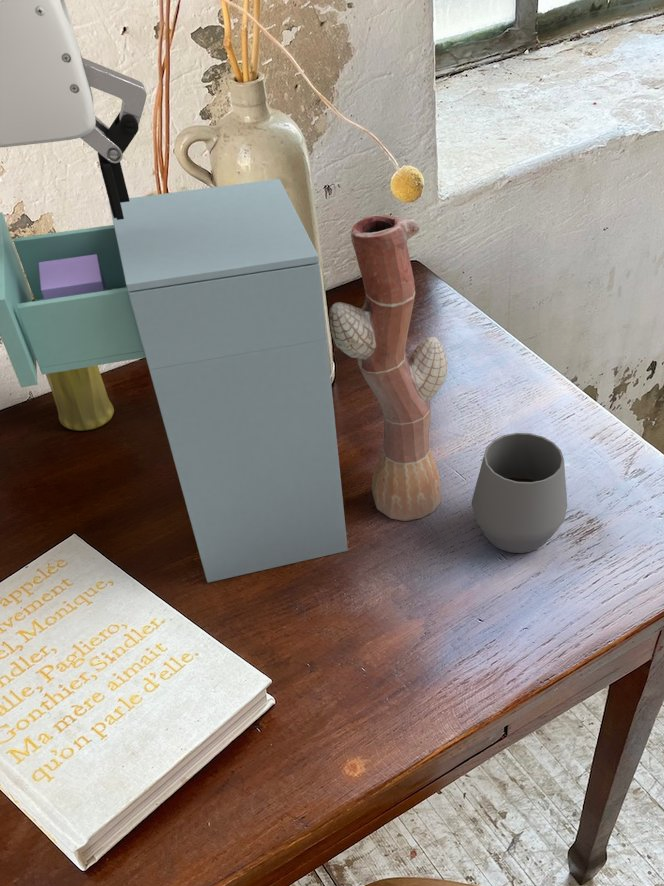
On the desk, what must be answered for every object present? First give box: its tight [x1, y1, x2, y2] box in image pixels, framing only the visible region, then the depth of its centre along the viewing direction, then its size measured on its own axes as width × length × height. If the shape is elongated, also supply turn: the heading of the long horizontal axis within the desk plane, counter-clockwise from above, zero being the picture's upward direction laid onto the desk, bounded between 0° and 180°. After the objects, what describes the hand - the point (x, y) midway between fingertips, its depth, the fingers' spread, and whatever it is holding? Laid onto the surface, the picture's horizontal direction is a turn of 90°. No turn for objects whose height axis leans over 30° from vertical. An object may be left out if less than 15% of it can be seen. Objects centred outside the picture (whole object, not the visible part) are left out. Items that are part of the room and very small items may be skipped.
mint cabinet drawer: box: [0, 212, 146, 388], centre depth 70 cm, size 19×14×7 cm
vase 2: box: [328, 214, 448, 522], centre depth 85 cm, size 10×7×30 cm
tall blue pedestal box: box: [108, 178, 349, 584], centre depth 82 cm, size 14×14×31 cm
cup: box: [471, 432, 568, 554], centre depth 89 cm, size 10×9×10 cm
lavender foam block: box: [39, 254, 107, 300], centre depth 71 cm, size 4×4×4 cm
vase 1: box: [32, 295, 115, 432], centre depth 99 cm, size 6×6×14 cm
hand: (50, 220), depth 66 cm, fingers open, 9 cm apart
